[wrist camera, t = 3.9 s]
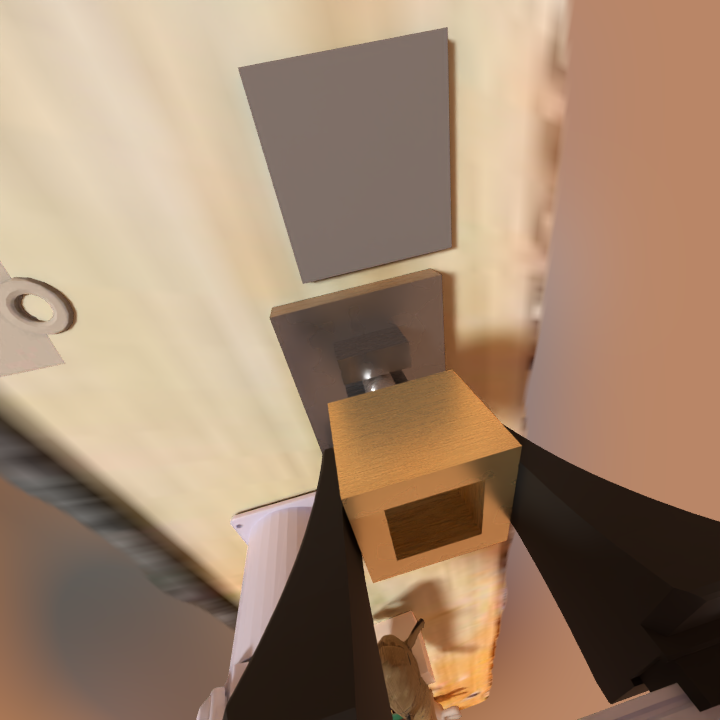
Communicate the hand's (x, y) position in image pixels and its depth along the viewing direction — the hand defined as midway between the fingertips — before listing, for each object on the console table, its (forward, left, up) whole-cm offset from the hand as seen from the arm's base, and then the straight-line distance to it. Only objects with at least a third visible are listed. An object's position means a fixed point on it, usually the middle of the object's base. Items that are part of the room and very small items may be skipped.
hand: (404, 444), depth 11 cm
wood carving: (-48, +4, -8) cm, 48 cm away
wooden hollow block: (0, 0, -1) cm, 1 cm away
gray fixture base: (-2, 0, -8) cm, 8 cm away
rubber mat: (+10, -2, -8) cm, 12 cm away
